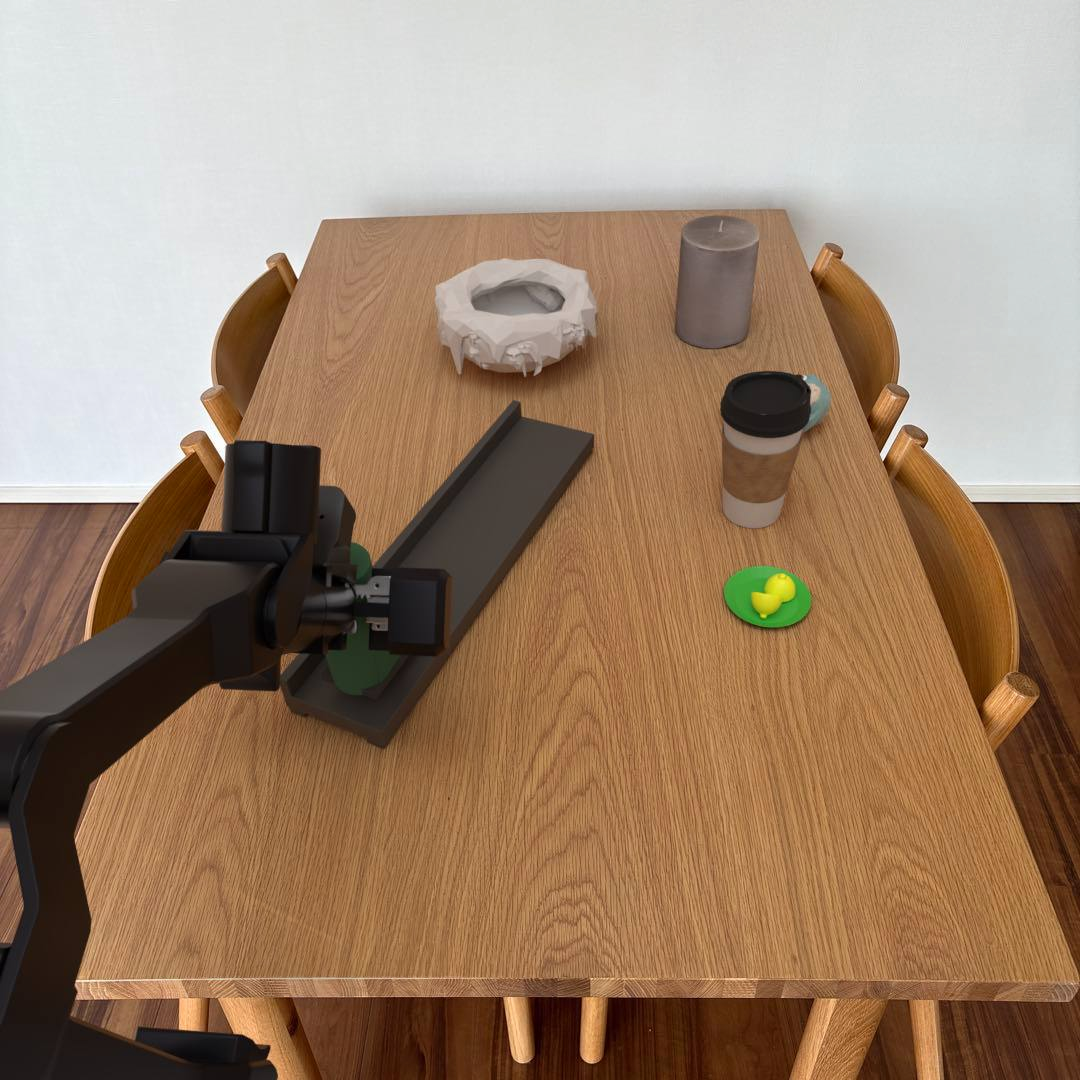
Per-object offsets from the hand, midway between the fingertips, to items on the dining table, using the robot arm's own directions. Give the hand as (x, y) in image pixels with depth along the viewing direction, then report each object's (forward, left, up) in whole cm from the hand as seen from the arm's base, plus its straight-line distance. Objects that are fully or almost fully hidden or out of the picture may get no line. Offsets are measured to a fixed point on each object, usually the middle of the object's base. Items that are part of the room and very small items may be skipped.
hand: (354, 605), depth 77 cm
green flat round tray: (+24, -28, -11) cm, 39 cm away
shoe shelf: (+17, +1, -11) cm, 20 cm away
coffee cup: (+36, -23, -11) cm, 44 cm away
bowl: (+54, +13, -11) cm, 56 cm away
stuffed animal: (+52, -21, -11) cm, 57 cm away
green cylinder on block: (+1, 0, -7) cm, 7 cm away
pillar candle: (+69, -8, -11) cm, 70 cm away
